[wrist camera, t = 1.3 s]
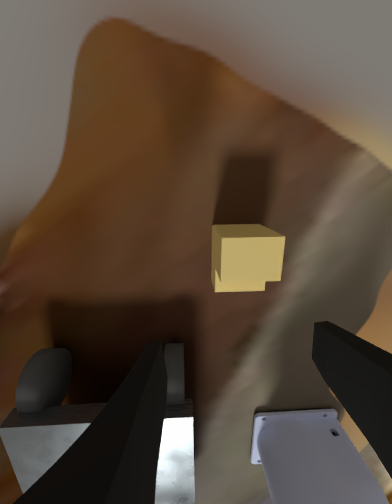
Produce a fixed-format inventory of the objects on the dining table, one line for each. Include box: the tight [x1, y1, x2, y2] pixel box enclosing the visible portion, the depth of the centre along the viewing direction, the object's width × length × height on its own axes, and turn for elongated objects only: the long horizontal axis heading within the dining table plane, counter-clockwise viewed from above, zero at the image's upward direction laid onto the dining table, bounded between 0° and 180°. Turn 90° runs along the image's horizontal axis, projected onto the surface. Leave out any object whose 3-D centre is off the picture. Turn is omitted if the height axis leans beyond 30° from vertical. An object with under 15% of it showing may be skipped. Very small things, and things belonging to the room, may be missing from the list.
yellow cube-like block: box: [212, 224, 285, 292], centre depth 16 cm, size 4×5×5 cm
